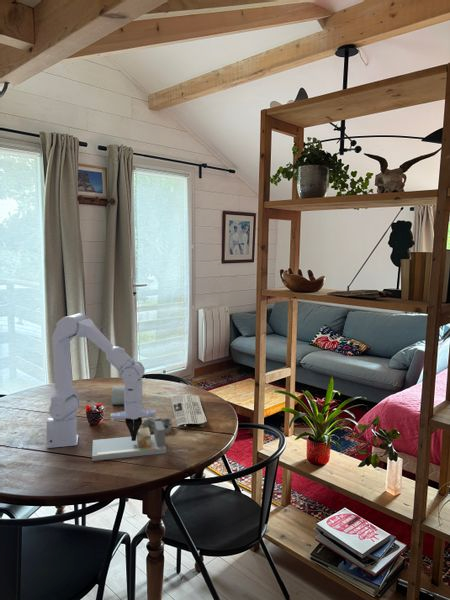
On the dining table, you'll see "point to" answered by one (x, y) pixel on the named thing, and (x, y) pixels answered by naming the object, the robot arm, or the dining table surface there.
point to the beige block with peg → (143, 437)
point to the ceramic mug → (118, 395)
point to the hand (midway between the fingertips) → (133, 439)
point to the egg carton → (150, 421)
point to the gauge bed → (129, 446)
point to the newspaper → (187, 410)
